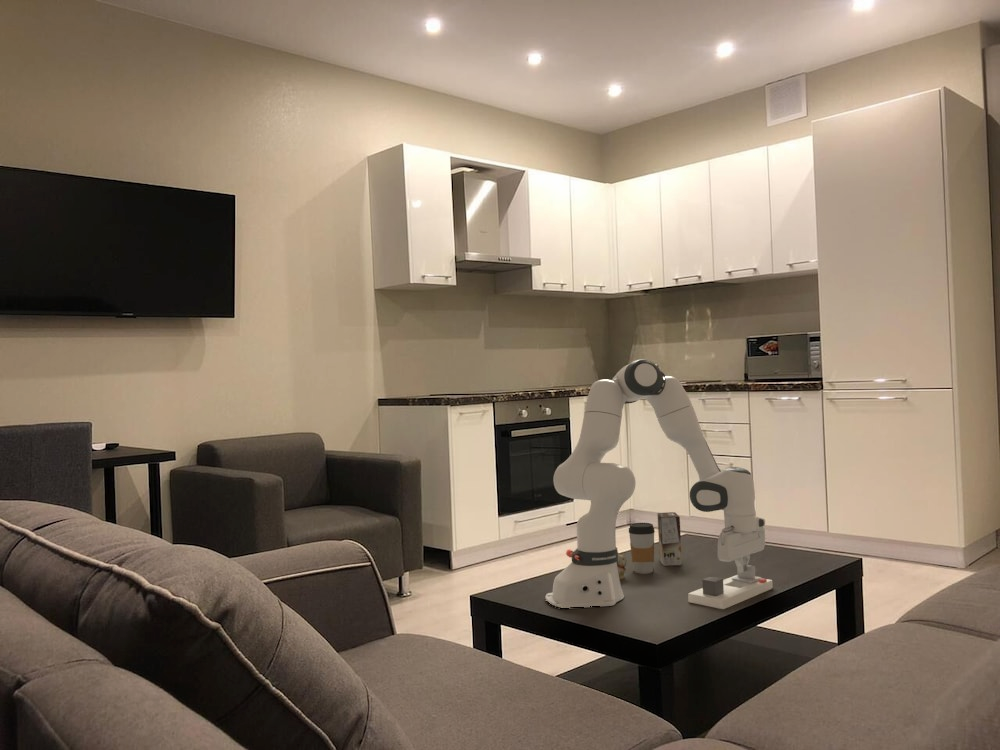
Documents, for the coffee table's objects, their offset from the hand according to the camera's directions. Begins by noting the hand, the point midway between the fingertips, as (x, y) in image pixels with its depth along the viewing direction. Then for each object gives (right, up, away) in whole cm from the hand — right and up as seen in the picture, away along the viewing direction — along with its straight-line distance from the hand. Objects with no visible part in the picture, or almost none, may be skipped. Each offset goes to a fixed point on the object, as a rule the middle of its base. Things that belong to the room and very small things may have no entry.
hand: (742, 571), depth 234 cm
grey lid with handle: (+2, -3, +1) cm, 4 cm away
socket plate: (-4, -6, -4) cm, 8 cm away
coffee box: (-13, -6, +37) cm, 40 cm away
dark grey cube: (-11, -4, -10) cm, 16 cm away
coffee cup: (-24, -7, +27) cm, 37 cm away
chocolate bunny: (-34, -7, +20) cm, 40 cm away
